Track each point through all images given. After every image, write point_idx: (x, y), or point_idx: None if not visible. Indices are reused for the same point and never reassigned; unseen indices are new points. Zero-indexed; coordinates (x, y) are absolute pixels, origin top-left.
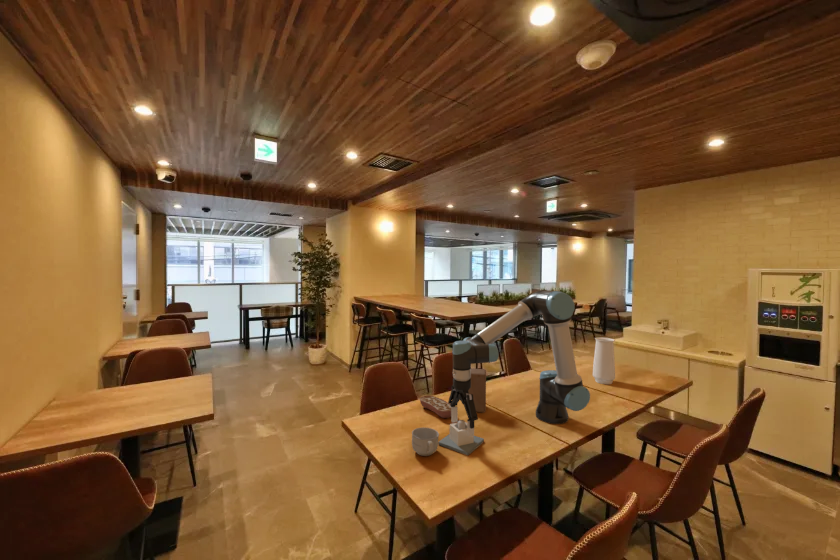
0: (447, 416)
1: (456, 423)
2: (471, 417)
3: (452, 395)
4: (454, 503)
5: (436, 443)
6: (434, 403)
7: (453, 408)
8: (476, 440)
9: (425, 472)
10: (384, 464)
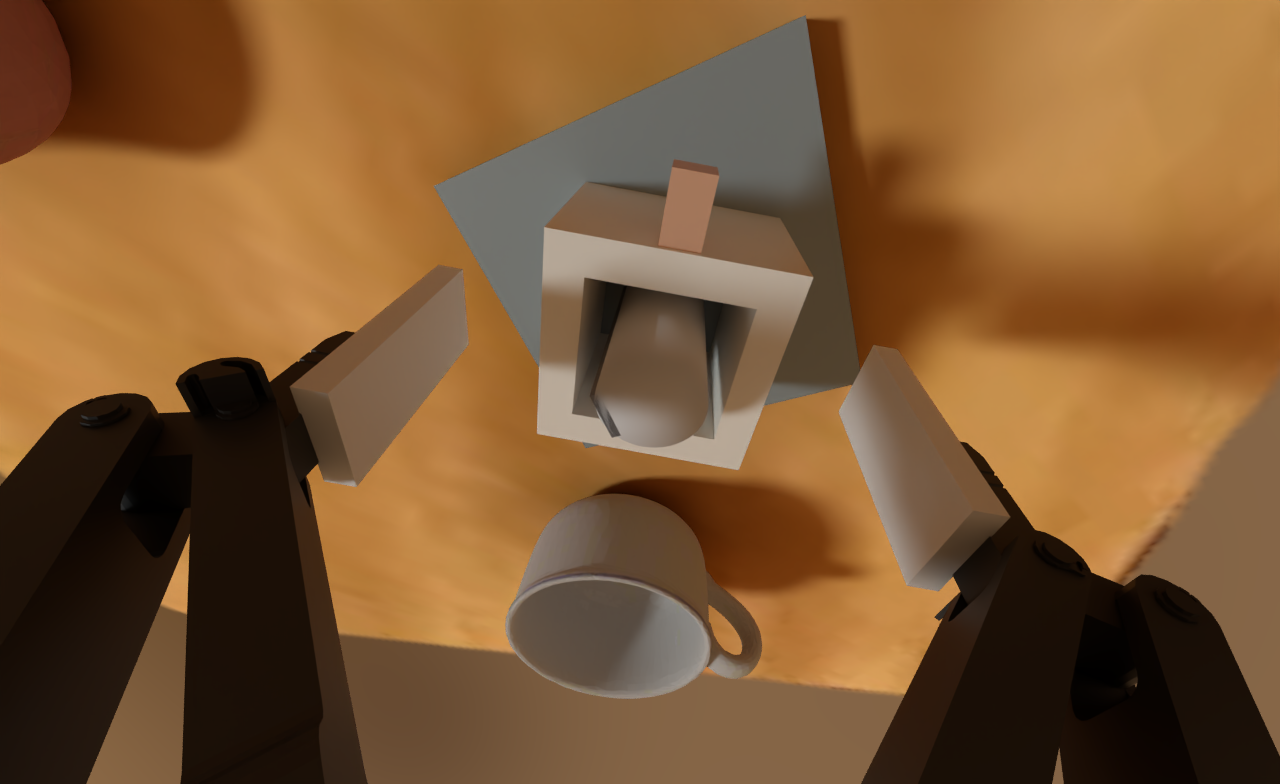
0: (61, 50)
1: (555, 365)
2: (1092, 700)
3: (81, 748)
4: None
5: (702, 580)
6: None
7: (359, 451)
8: (769, 152)
9: (789, 606)
10: None
